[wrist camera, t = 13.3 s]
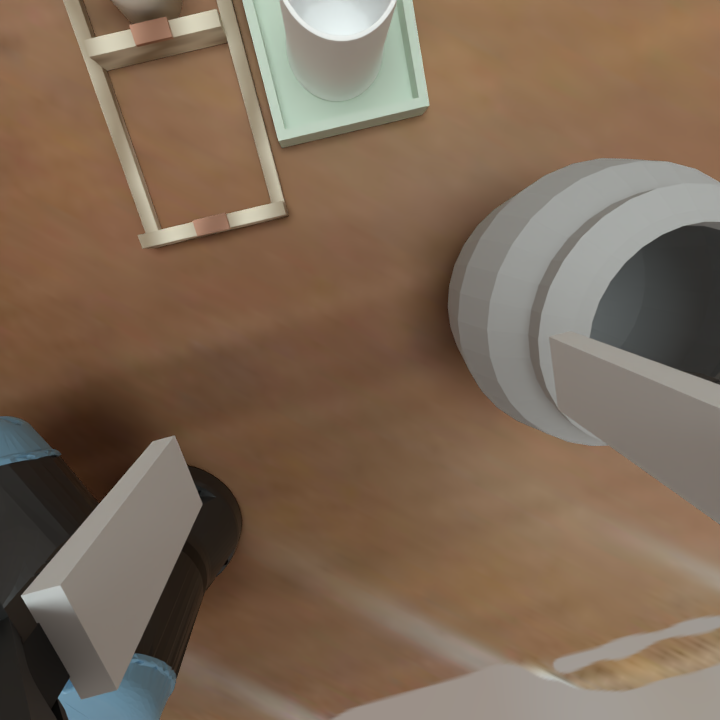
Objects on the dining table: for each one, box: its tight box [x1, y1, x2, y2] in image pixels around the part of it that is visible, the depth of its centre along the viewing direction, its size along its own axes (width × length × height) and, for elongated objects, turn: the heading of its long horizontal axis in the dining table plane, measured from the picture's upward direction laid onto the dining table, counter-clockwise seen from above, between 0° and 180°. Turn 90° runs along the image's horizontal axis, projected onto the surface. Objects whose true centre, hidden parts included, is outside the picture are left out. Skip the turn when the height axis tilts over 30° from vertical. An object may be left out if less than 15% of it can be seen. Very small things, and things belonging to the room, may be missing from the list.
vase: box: [448, 158, 720, 446], centre depth 34 cm, size 20×20×24 cm
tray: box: [242, 0, 429, 148], centre depth 37 cm, size 14×17×3 cm
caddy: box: [63, 0, 289, 249], centre depth 37 cm, size 13×25×3 cm, turn 13°
